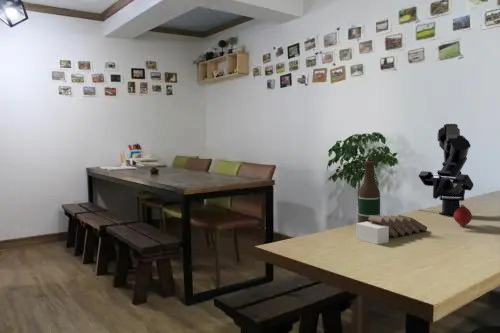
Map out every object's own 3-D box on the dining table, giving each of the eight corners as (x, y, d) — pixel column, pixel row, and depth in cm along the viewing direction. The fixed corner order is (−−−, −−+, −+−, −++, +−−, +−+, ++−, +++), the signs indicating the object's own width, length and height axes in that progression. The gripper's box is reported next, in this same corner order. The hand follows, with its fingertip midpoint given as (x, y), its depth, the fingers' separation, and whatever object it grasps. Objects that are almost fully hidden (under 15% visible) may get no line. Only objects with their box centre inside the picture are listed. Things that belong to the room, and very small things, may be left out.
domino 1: (386, 230, 140) (370, 215, 136) (398, 233, 136) (382, 217, 132) (384, 234, 140) (368, 219, 135) (396, 238, 136) (380, 221, 131)
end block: (366, 236, 138) (366, 221, 138) (388, 242, 131) (388, 226, 130) (355, 238, 136) (355, 223, 136) (377, 244, 128) (377, 228, 128)
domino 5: (415, 224, 148) (398, 214, 143) (427, 227, 144) (410, 217, 139) (413, 228, 148) (397, 219, 143) (426, 231, 144) (409, 221, 139)
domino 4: (407, 226, 146) (390, 215, 141) (420, 228, 142) (403, 217, 137) (406, 230, 146) (389, 219, 141) (418, 233, 142) (401, 222, 137)
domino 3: (400, 227, 144) (383, 215, 139) (412, 230, 140) (396, 217, 135) (398, 232, 144) (382, 219, 139) (410, 234, 139) (394, 222, 135)
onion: (467, 224, 153) (468, 203, 153) (474, 228, 147) (475, 205, 147) (451, 224, 154) (451, 203, 153) (457, 228, 148) (457, 205, 147)
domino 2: (393, 229, 142) (377, 215, 137) (405, 232, 138) (389, 218, 133) (391, 233, 142) (375, 219, 137) (404, 236, 138) (387, 222, 133)
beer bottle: (355, 227, 151) (356, 161, 149) (360, 223, 158) (361, 160, 156) (377, 229, 148) (378, 162, 146) (382, 225, 154) (382, 160, 152)
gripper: (487, 182, 149) (468, 216, 145) (439, 177, 165) (421, 208, 160) (475, 161, 145) (455, 195, 140) (427, 158, 161) (408, 189, 156)
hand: (434, 198), depth 149 cm, fingers closed
